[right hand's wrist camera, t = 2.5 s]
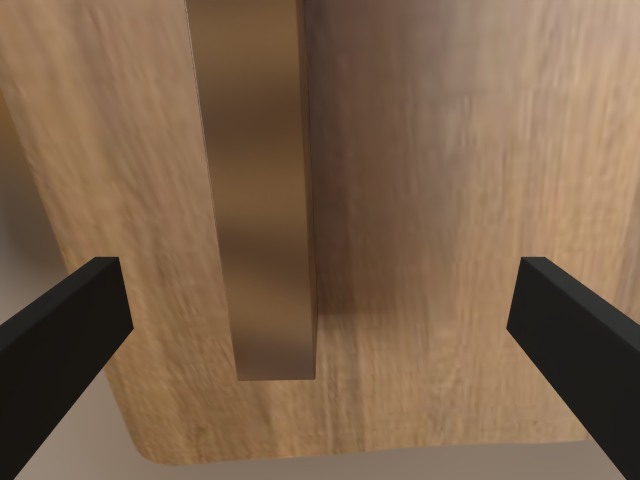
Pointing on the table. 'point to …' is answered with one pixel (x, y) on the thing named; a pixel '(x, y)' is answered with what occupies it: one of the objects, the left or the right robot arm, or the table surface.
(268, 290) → the post
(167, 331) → the table surface
